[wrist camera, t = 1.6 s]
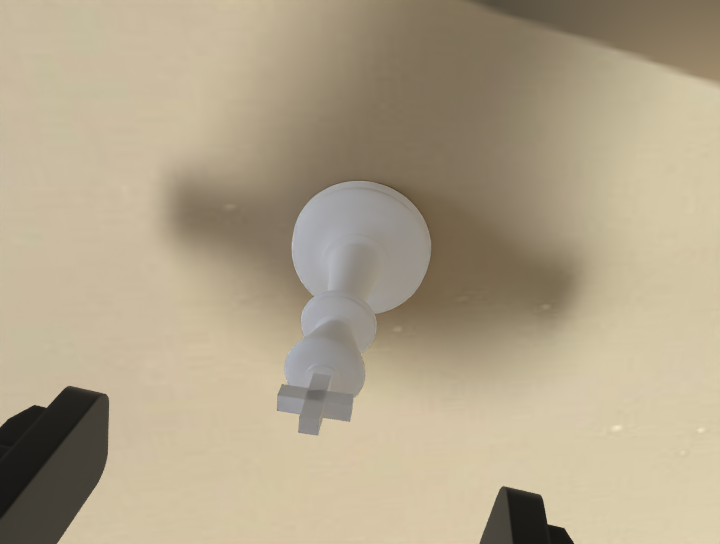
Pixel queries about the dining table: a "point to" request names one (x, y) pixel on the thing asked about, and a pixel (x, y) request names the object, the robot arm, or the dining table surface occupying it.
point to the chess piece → (348, 291)
